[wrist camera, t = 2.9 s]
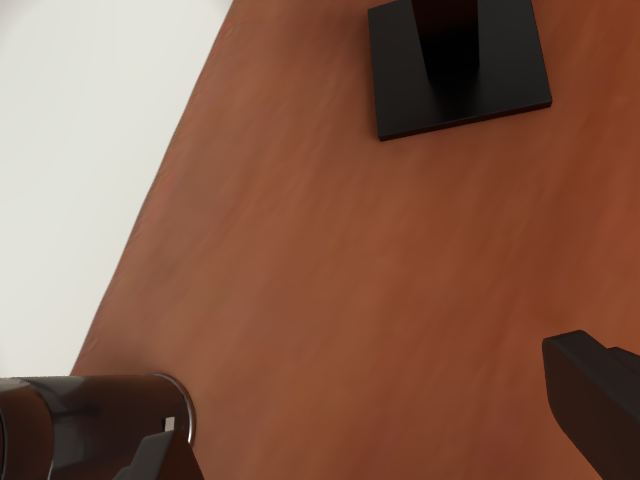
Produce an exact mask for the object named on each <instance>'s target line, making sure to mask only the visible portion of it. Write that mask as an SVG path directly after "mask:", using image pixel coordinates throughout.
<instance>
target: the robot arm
mask: <svg viewBox="0 0 640 480" xmlns="http://www.w3.org/2000/svg"><path fill="white" fill-rule="evenodd" d="M542 352H543V361H544V369H545V378H546V386H547V395H548V401H549V405H550V408H551V410H552V413H553V415H554V417H555V419H556V421H557V423H558V424H559V426H560V427H561V429H562V430H563V431H564V433H565V434H566V435H567V436H568V437H569V439H570V440H571V441H572V442H573V444H574V445H575V446H576V447H577V448H578V450H579V451H580V452H581V453H582V454H583V456H584V457H585V458H586V459H587V461H588V462H589V463H590V464H591V465H592V467H593V468H594V469H595V470H596V471H597V473H598V474H599V475H600V476H601V478H602V479H603V480H640V356H639V355H636V354H634V353H631V352H629V351H626V350H623V349H621V348H618V347H613V348H609V349H607V348H605V347H604V346H603V345H602V344H600V343H599V342H598V341H596V340H595V339H594V338H593V337H591V336H590V335H589V334H587V333H586V332H585V331H583V330H576V331H572V332H568V333H564V334H560V335H556V336H552V337H548V338H545V339H544V340H543V342H542ZM195 424H196V422H195V412H194V408H193V404H192V401H191V399H190V396H189V395H188V393H187V391H186V390H185V388H184V387H183V386H182V385H181V384H180V383H179V382H178V381H177V380H176V379H174V378H172V377H171V376H168V375H165V374H160V373H150V374H144V375H99V376H55V377H54V376H53V377H12V378H0V480H204V477H203V475H202V473H201V470H200V468H199V465H198V463H197V461H196V458H195V456H194V453H193V451H192V445H193V441H194V436H195Z"/></svg>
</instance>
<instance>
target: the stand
mask: <svg viewBox="0 0 640 480" xmlns="http://www.w3.org/2000/svg"><path fill="white" fill-rule="evenodd" d="M368 19H369V31H370V44H371V56H372V68H373V80H374V93H375V105H376V117H377V129H378V138H379V140H380V142H382V141H387V140H392V139H397V138H402V137H407V136H411V135H416V134H421V133H426V132H431V131H436V130H441V129H446V128H451V127H456V126H460V125H465V124H470V123H475V122H480V121H485V120H490V119H495V118H500V117H505V116H510V115H514V114H519V113H524V112H529V111H534V110H539V109H544V108H549V107H551V104H552V97H551V92H550V87H549V82H548V78H547V73H546V68H545V64H544V59H543V54H542V49H541V45H540V40H539V35H538V31H537V26H536V21H535V16H534V12H533V7H532V2H531V0H397V1H394V2H390V3H387V4H384V5H380V6H377V7H374V8H371V9H368Z"/></svg>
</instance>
